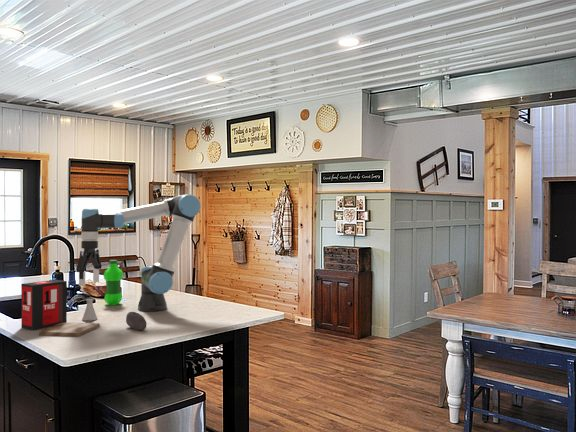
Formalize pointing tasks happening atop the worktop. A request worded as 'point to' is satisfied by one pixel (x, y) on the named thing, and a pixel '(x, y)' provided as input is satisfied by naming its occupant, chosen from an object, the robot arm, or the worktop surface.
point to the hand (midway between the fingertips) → (89, 283)
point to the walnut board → (69, 329)
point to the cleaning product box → (43, 304)
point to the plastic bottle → (113, 284)
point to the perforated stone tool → (136, 321)
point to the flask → (89, 311)
